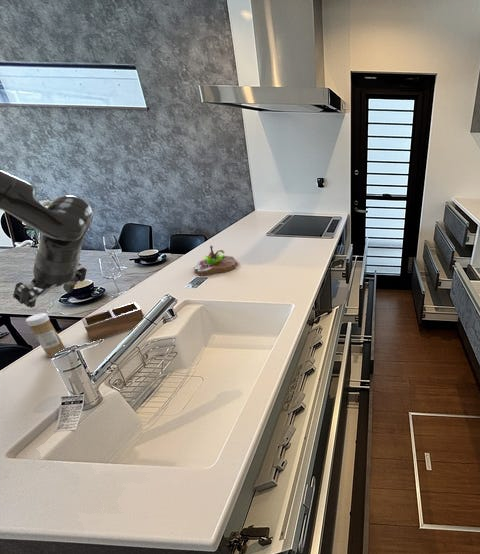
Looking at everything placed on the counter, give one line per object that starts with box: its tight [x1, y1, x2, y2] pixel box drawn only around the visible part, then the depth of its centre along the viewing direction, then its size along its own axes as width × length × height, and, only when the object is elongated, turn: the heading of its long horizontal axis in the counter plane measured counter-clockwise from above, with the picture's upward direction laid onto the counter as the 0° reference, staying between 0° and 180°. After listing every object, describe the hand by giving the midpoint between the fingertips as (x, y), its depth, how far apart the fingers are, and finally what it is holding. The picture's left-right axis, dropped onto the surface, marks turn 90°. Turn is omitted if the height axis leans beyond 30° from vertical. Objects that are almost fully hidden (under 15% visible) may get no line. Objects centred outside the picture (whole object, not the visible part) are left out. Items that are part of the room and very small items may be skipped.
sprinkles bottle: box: [25, 312, 67, 358], centre depth 93 cm, size 5×5×14 cm
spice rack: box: [81, 301, 145, 343], centre depth 106 cm, size 8×15×6 cm, turn 137°
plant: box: [193, 245, 238, 276], centre depth 156 cm, size 20×20×11 cm
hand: (49, 297), depth 83 cm, fingers open, 8 cm apart
